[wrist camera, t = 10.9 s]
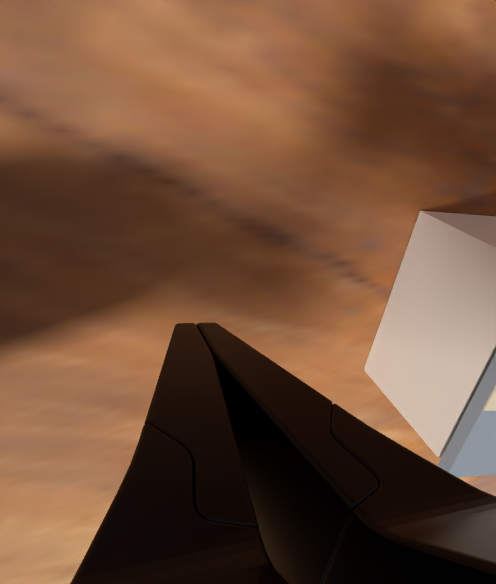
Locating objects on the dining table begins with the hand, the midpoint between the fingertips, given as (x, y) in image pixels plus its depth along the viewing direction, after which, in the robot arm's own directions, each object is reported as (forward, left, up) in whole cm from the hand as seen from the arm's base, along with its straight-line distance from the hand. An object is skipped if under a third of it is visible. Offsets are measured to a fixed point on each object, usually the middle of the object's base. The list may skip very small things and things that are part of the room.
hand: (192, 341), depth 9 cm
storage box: (+10, -19, -13) cm, 25 cm away
